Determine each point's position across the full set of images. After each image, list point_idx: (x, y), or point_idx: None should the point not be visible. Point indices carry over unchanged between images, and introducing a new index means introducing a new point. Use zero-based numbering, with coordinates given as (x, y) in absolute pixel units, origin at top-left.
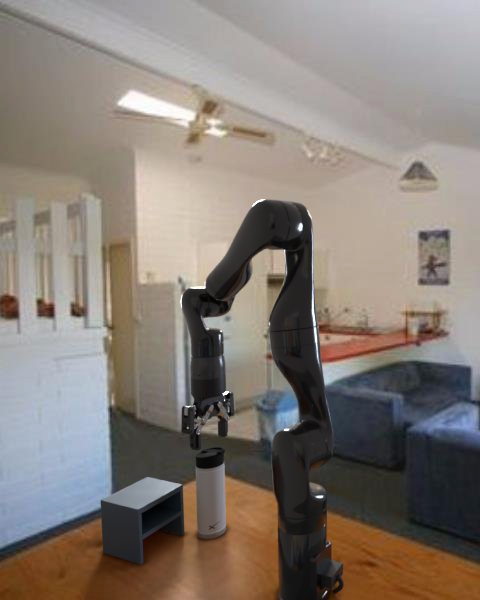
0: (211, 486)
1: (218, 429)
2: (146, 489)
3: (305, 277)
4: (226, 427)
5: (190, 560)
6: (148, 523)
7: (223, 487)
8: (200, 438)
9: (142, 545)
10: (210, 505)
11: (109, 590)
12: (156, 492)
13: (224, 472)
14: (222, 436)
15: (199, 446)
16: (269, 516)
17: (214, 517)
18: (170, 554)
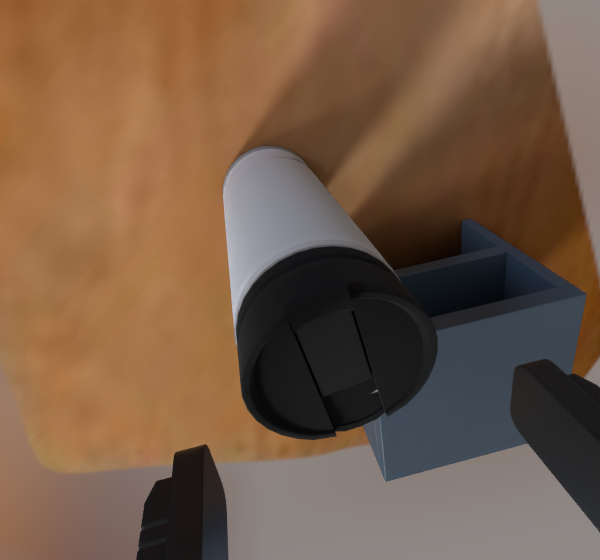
0: (343, 215)
1: (227, 555)
2: (459, 404)
3: None
4: (179, 536)
5: (406, 112)
6: (452, 298)
7: (266, 201)
8: (596, 437)
9: (490, 238)
10: (325, 189)
11: (567, 182)
12: (463, 361)
13: (254, 242)
14: (212, 465)
15: (554, 376)
16: (59, 89)
17: (302, 167)
18: (408, 193)
